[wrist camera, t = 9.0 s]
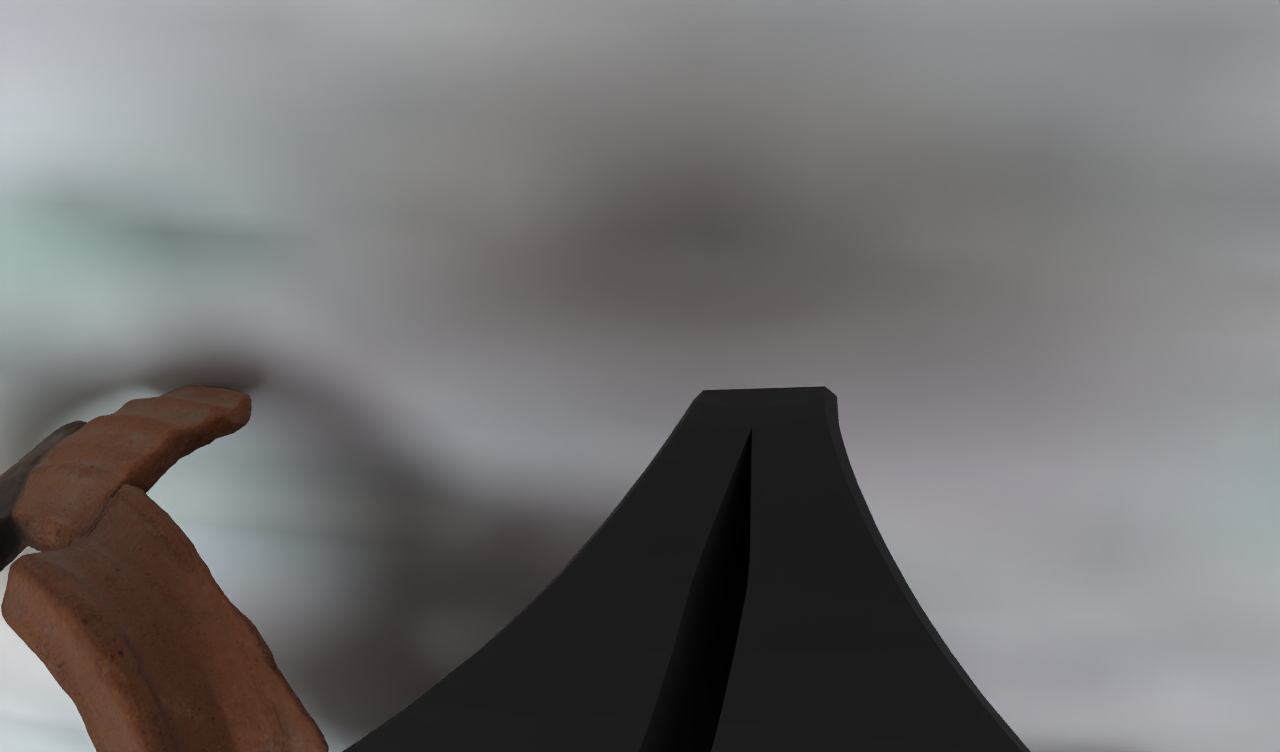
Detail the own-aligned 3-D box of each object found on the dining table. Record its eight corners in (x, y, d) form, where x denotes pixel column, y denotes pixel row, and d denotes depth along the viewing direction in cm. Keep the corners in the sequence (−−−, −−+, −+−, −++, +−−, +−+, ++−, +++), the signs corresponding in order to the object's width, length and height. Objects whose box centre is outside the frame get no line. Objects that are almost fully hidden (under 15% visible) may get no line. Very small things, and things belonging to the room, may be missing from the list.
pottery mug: (285, 820, 23) (-157, 1100, 16) (221, 357, 22) (-283, 439, 15) (856, 951, 17) (549, 1486, 10) (804, 324, 16) (420, 436, 9)
